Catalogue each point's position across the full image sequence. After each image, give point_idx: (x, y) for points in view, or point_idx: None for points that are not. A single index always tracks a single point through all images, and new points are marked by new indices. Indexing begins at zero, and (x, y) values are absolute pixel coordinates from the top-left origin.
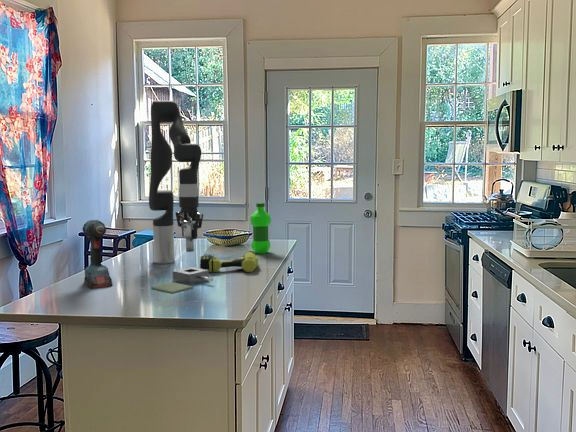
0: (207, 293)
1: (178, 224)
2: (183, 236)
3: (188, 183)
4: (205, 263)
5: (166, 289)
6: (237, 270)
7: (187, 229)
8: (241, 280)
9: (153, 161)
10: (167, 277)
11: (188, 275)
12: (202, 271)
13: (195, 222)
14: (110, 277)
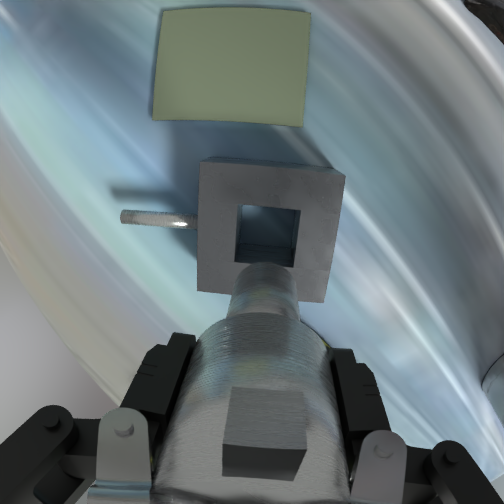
0: (62, 104)
1: (460, 462)
2: (338, 355)
3: None
4: None
5: (213, 17)
6: None
7: (207, 404)
8: (111, 318)
9: None
10: (403, 214)
11: (211, 161)
12: (198, 252)
13: (20, 475)
14: (492, 7)
